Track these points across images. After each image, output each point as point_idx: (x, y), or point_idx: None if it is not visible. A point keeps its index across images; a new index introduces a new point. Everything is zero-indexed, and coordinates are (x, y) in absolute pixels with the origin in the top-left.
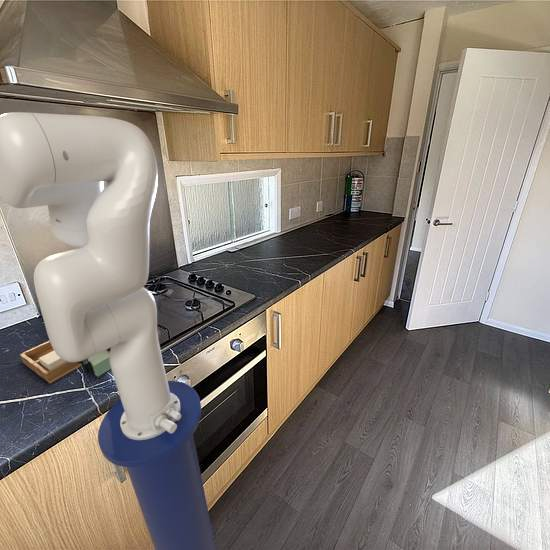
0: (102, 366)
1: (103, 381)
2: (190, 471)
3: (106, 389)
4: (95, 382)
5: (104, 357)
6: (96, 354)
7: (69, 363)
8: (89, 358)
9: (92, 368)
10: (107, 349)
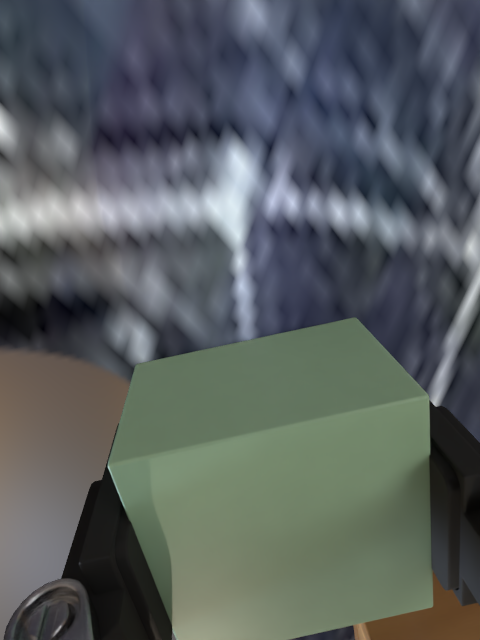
0: (307, 371)
1: (335, 229)
2: None
3: (373, 58)
4: (389, 277)
5: (249, 479)
6: (294, 600)
7: (477, 630)
8: (384, 578)
9: None
10: (156, 609)
